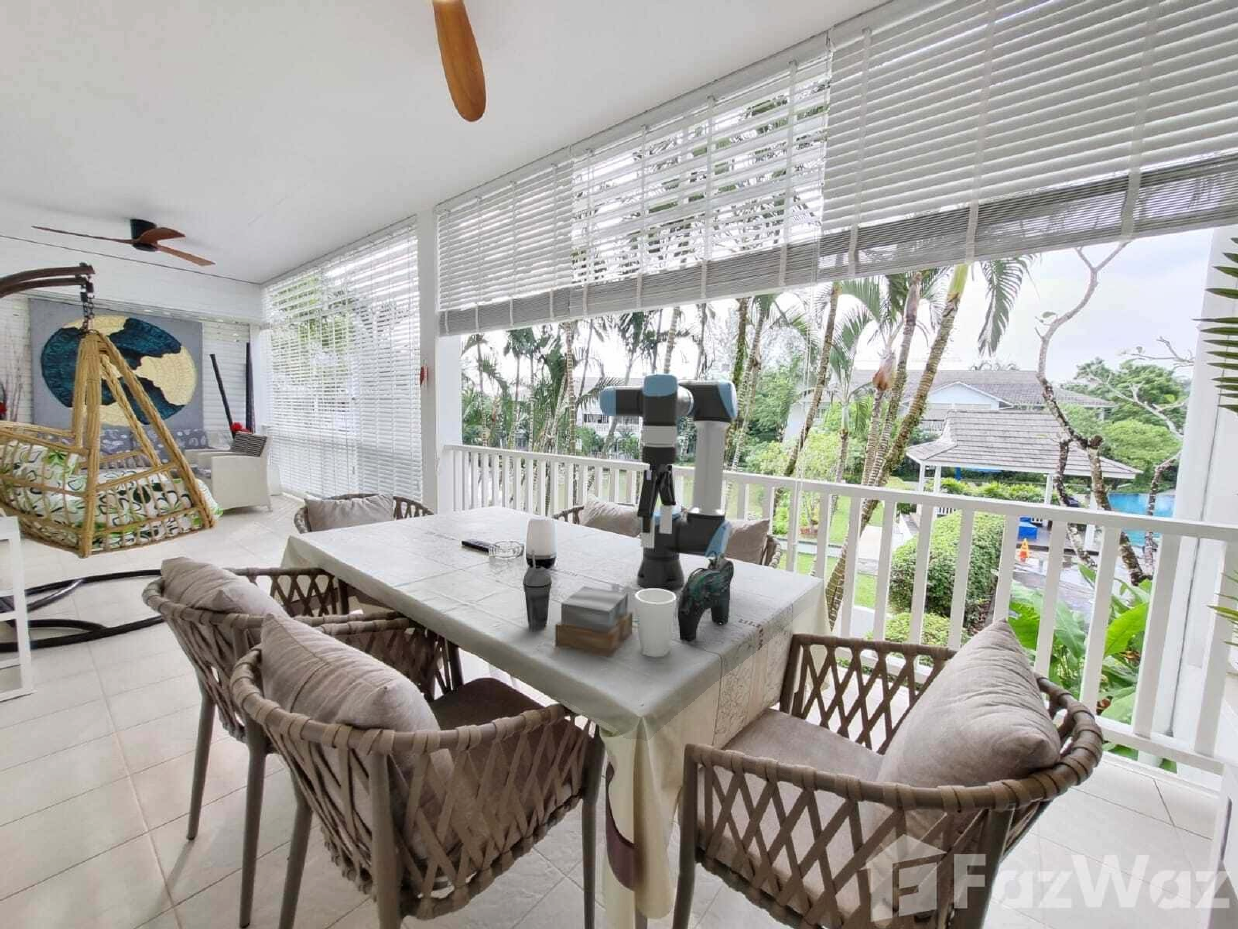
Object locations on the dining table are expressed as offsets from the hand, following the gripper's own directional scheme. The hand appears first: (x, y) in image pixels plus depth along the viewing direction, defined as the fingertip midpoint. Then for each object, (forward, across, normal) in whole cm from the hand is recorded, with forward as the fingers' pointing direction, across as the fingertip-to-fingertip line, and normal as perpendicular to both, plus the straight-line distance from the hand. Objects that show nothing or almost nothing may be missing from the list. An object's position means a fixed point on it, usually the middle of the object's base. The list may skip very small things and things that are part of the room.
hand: (656, 539), depth 112 cm
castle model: (+27, -18, -14) cm, 35 cm away
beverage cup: (+26, 0, -31) cm, 41 cm away
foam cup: (+26, 0, 0) cm, 26 cm away
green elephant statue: (+26, -16, +9) cm, 32 cm away
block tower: (+26, 0, -15) cm, 30 cm away
